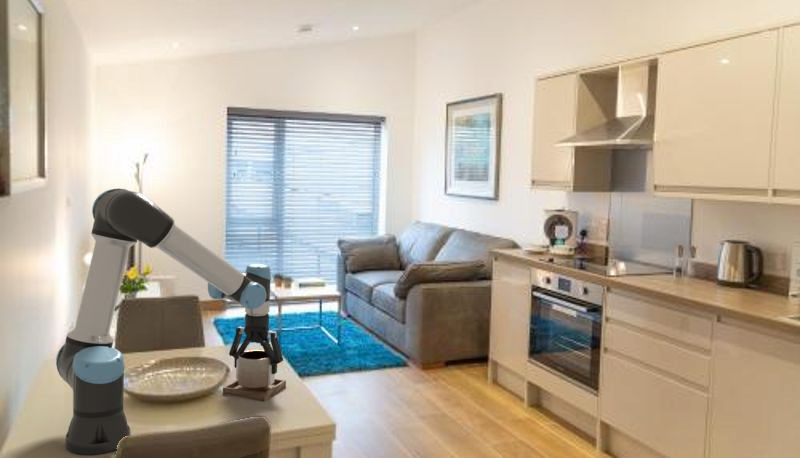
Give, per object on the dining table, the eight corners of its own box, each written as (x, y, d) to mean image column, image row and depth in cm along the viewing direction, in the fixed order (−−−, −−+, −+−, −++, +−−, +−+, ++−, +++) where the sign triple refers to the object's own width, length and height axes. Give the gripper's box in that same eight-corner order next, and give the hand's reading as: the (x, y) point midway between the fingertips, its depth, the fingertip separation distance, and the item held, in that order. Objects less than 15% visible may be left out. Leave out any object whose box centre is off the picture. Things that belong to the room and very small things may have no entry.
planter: (230, 384, 207) (231, 355, 206) (253, 375, 217) (254, 347, 216) (257, 392, 202) (258, 361, 201) (279, 382, 212) (280, 353, 211)
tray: (263, 401, 201) (263, 394, 201) (222, 393, 205) (222, 387, 205) (285, 386, 215) (285, 380, 214) (247, 379, 219) (247, 373, 219)
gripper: (295, 315, 207) (293, 382, 210) (231, 306, 214) (229, 371, 217) (284, 320, 200) (282, 390, 203) (218, 311, 207) (216, 378, 210)
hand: (255, 380), depth 210 cm, fingers closed on planter, 11 cm apart
